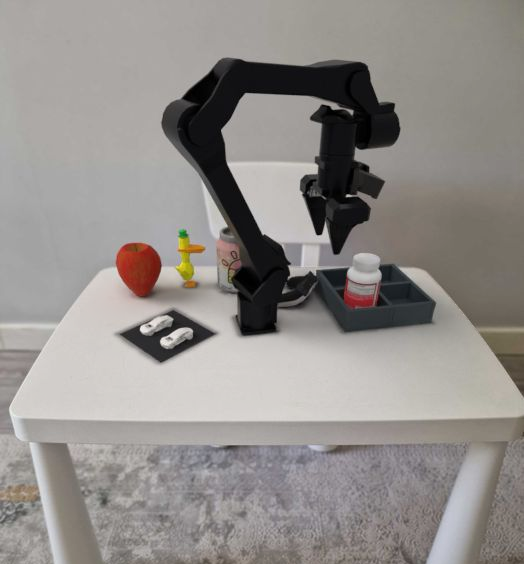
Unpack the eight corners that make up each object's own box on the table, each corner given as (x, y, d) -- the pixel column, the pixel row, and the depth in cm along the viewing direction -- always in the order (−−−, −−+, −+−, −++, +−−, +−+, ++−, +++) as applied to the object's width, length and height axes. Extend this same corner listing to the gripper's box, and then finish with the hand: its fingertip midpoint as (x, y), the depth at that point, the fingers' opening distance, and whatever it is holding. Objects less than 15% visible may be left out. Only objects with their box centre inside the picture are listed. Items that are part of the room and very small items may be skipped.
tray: (344, 332, 82) (347, 311, 80) (314, 288, 96) (316, 269, 94) (431, 322, 86) (436, 302, 83) (389, 281, 99) (393, 263, 97)
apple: (167, 284, 96) (161, 235, 90) (161, 304, 89) (154, 252, 83) (126, 284, 96) (118, 235, 90) (117, 304, 89) (107, 252, 83)
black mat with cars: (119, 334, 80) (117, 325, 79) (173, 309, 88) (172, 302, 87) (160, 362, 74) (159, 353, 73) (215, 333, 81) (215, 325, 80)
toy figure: (208, 281, 98) (205, 227, 91) (206, 289, 95) (203, 234, 88) (176, 281, 98) (171, 226, 91) (174, 288, 95) (168, 233, 88)
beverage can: (255, 274, 101) (256, 221, 94) (265, 292, 94) (267, 236, 87) (214, 279, 99) (211, 225, 92) (222, 297, 92) (220, 240, 85)
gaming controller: (281, 319, 89) (308, 303, 85) (267, 302, 89) (293, 284, 84) (299, 295, 98) (323, 279, 93) (286, 279, 97) (310, 262, 92)
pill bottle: (356, 301, 90) (365, 248, 83) (381, 313, 86) (392, 259, 80) (335, 311, 86) (342, 256, 80) (359, 324, 83) (369, 268, 76)
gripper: (410, 164, 67) (391, 262, 76) (360, 139, 82) (349, 223, 91) (339, 167, 65) (328, 267, 74) (301, 141, 80) (296, 227, 89)
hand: (327, 244), depth 82 cm, fingers open, 9 cm apart
